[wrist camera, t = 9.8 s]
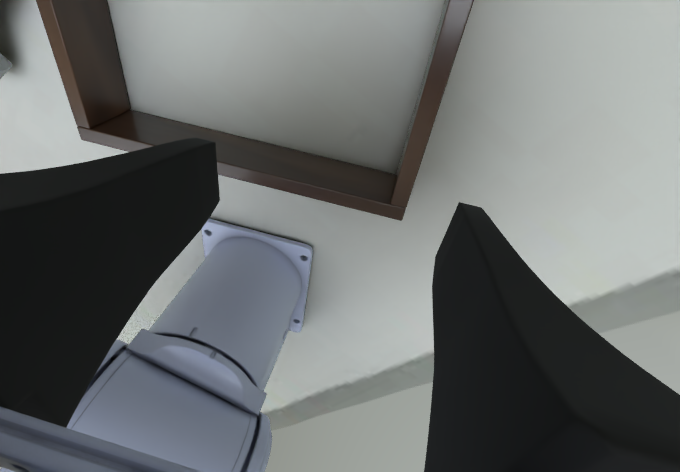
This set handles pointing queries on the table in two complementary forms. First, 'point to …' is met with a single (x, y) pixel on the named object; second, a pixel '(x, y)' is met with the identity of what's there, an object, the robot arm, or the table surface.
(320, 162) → the bin
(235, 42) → the table surface
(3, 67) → the smooth white sculpture
